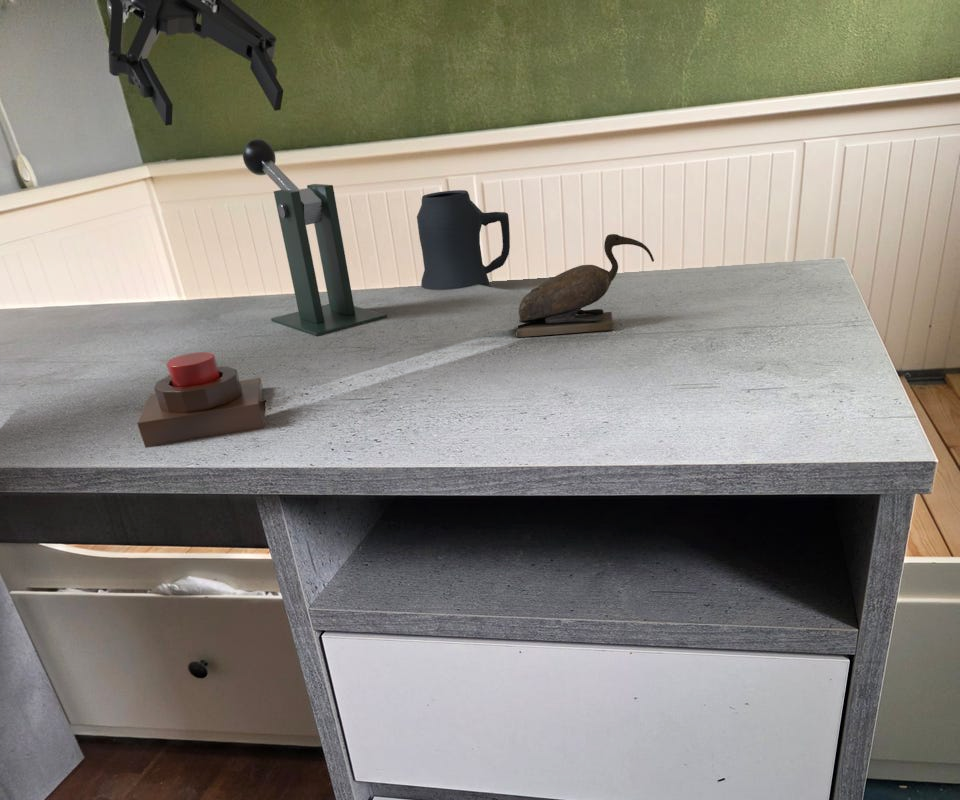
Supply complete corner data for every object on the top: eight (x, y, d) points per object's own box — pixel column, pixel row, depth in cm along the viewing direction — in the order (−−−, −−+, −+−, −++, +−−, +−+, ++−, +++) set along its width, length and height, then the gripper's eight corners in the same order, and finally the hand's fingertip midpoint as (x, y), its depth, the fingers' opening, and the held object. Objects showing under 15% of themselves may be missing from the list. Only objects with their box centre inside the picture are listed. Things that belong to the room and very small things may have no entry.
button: (171, 393, 74) (163, 369, 72) (176, 380, 77) (169, 356, 76) (219, 385, 74) (212, 361, 73) (222, 373, 77) (215, 349, 76)
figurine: (652, 316, 92) (653, 226, 87) (654, 327, 88) (655, 234, 83) (519, 326, 94) (513, 239, 89) (516, 338, 90) (509, 247, 86)
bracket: (273, 331, 104) (242, 193, 96) (340, 314, 108) (315, 180, 100) (319, 347, 96) (288, 197, 87) (389, 328, 100) (366, 182, 91)
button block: (145, 448, 74) (129, 401, 71) (156, 418, 80) (143, 374, 78) (264, 428, 75) (252, 382, 72) (266, 400, 81) (255, 357, 79)
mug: (416, 302, 109) (402, 203, 103) (424, 286, 116) (412, 192, 110) (512, 294, 107) (504, 192, 101) (514, 278, 115) (507, 182, 109)
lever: (238, 168, 101) (236, 135, 98) (267, 163, 102) (265, 131, 99) (298, 232, 95) (297, 199, 92) (327, 226, 96) (327, 193, 93)
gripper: (239, -11, 113) (315, 120, 110) (40, 2, 102) (120, 149, 99) (245, -71, 106) (326, 68, 104) (32, -64, 95) (118, 92, 93)
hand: (225, 108), depth 101 cm, fingers open, 13 cm apart
